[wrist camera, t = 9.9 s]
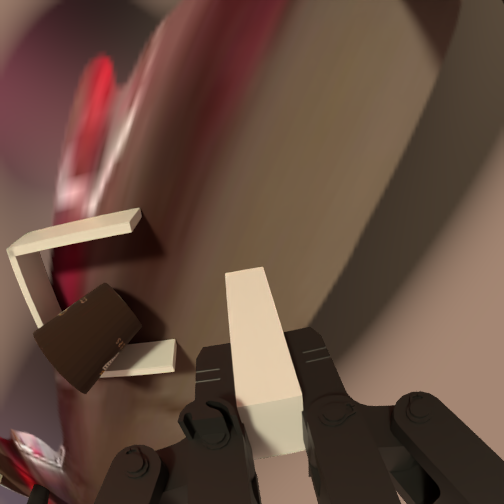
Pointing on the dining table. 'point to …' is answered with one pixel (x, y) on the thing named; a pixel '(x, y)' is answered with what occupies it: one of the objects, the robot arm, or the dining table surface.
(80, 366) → the dark brown mug
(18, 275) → the cream u-shaped bracket
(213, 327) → the dining table surface
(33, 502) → the drinking cup
